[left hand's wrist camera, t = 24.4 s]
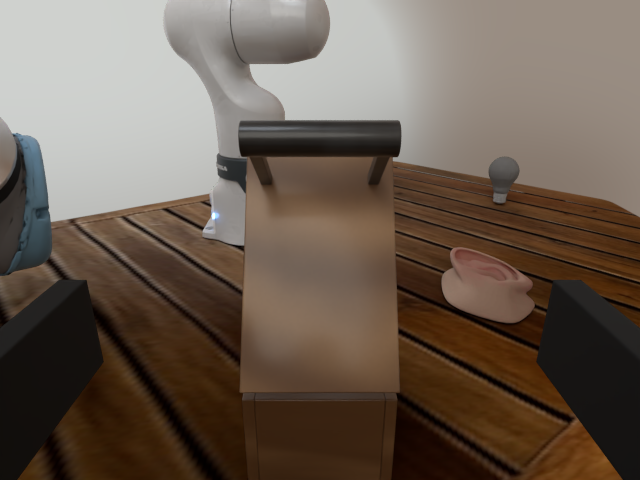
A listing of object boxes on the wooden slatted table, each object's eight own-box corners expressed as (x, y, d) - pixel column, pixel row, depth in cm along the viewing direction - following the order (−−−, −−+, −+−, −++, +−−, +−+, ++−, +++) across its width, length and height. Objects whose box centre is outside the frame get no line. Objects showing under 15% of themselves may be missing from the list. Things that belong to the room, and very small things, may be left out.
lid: (250, 147, 30) (223, 81, 22) (389, 147, 30) (415, 80, 22) (242, 390, 27) (208, 419, 19) (396, 390, 27) (430, 418, 19)
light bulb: (488, 206, 94) (495, 159, 90) (481, 199, 100) (487, 154, 96) (517, 207, 94) (525, 159, 90) (508, 199, 99) (515, 154, 96)
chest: (272, 369, 44) (268, 287, 41) (367, 369, 44) (371, 287, 41) (250, 507, 30) (241, 400, 27) (389, 507, 30) (397, 400, 27)
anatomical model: (544, 298, 49) (436, 281, 52) (538, 329, 50) (433, 311, 54) (535, 253, 60) (447, 242, 64) (530, 280, 62) (444, 268, 65)
